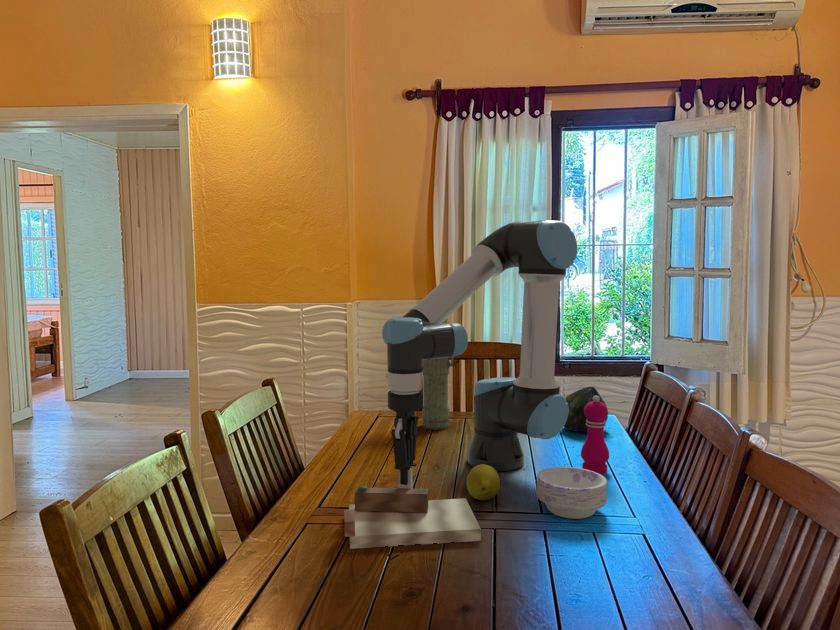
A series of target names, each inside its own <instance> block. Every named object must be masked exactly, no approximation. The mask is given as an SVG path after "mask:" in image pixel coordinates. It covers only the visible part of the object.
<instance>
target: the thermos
mask: <svg viewBox="0 0 840 630" xmlns="http://www.w3.org/2000/svg"><path fill="white" fill-rule="evenodd" d="M444 323H446V320H445V321H444V322H442V323H441V324H444ZM454 357H455V356H453V357H446V358H438V359H431V360H424V361H423V407H422V409H421V419H422V428H424V429H425V430H426V429H427V430H431V429H432V430H433V431H434V430H436V431H439V430H438V429H441V430H445V429H448V428H449V427H450V421H449V420H450V406H449V403H448V402H449V396H448V395H449V394H448V393H449V391H448V390H449V389H448V387H449V385H448V384H449V381H448V380H449V377H448V376H449V374H450V367H453V366H454V360H455V359H454Z"/></svg>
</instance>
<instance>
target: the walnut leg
mask: <svg viewBox="0 0 840 630" xmlns="http://www.w3.org/2000/svg"><path fill="white" fill-rule="evenodd" d="M428 500H429V488H399V487H368V486H367V485H358V486H357V487H356V489H355V491H354V504H355V511H392V512H428Z"/></svg>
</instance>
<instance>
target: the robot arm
mask: <svg viewBox="0 0 840 630" xmlns="http://www.w3.org/2000/svg"><path fill="white" fill-rule="evenodd" d="M577 256H578V242H577V238H576V235H575V233H574V232H573V230H572V229H571V227H570V226H569V225H568V224H566V223H565V222H563V221H561V220H550V219H547V220H545V219H544V220H530V221H513V222H509V223H507V224H505V225H503V226H501V227H499V228H497V229H496V230H494V231H493V232H491V233H490V234H488V235H487V236H486V237H485V238H483V239H482V240H481V241H480V242H478V243H477V245H475V246H474V247H473V249H472V251H471V255H470V256H469V257H467V259H465V261H464V262H462V263H460V265H459V266H458V267H456V269H455V270H453V271H452V272H451V273H450V274H449V275H448V276H447V277H446V278H445V279H443V280H442V281H440V283H439V284H438V285H437V286H435V288H433V289H432V290H431V291H430V292H429V293H428V294H427V295H426V296H424V297H423V298H422V299H421V300H420V301H419V302H417V304H416V305H414V307H412V308H411V309H410V310H409V311H407V313H405V314H404V315H403V316H401V317H400V316H397V317H392V318H389V319H387V321H386V322H385V323H384V325H383V327H382V331H381V336H382V340H383V342H384V344H385V345H386V351H387V352H386V353H387V373H386V375H385V378H386V379H387V389H388V390H389V391H388V392H387V408H388V409H389V410H390V411H393V412H395V413H396V414H395V417H394V418H393V426H394V427H395V428H392V429H391V431H390V434H391V436H392V444H393V455H394V469H395V470H398V488H413V467H417V462H414V461H416V452H417V451H416V449H417V436H418V435H417V434H418V433H417V432H418V423H419V415H416V412H418V411H420V410H422V408H423V406H424V391H422V390H424V379H423V361H424V360H431V359H438V358H446V357H449V358H451V357H453V356H454V357H456V356H460V355H462V354H464V352H465V351H466V349H467V347H468V345H469V343H468V342H469V341H468V339H469V336H468V333H467V330H466V329H465V327H464V325H462V324H461V323H459V322H446V320H447V319H448V318H449V317H450V316H451V315H452V314H453V313H455V312H456V311H457V310H458V309H459V308H460V307H461V306H462V305H463V304H464V303H465V302H466V301H468V299H469V298H470V297H471V296H472V295H474V294H475V293H476V292H477V291H478V290H479V289H481V288H482V286H483V285H484V284H485V283H487V282H488V281H489V280H490V279H492V277H498V276H500V275H501V274H502V273H503V272H504V271H506V270H508V269H511V268H518V276H519V277H520V278H521V279H522V280H523V297H522V299H523V300H522V301H523V302H522V321H521V323H522V324H521V341H520V342H521V344H520V363H519V376H518V377H517V378H516V377H509V376H505V377H502V376H501V377H492V378H491V377H490V378H484V379H479V380H478V381H477V382H476V383H475V385H474V394H473V417H474V418H473V420H474V421H473V425H474V428H473V431H474V432H473V433H474V434H473V437H472V440H471V443H470V446H469V449H468V452H467V464H468V465H469V466H470V467H472V468H474V467H475V466H477V465H481V464H485V465H489V466H491V467H493V468H494V469H495V470H496V472H509V471H514V470H517V469H520V468H521V467H523V466H524V464H525V463H524V462H525V456H524V451H523V448H522V445H521V443H520V439H519V435H518V433H519V434H521V435H522V434H523V435H525V436H529V437H530V438H533V439H540V440H551V439H553V438H555V437H556V436H558V435H559V434H560V433H561V430H563V429H564V425H565V423H566V421H567V418H568V413H569V407H568V403H567V402H566V399H565V398H566V397H564V396H563V395H562V394H560V392H561V390H560V389H561V385H560V383H559V382H558V381H557V379H555V369H556V367H555V366H556V350H557V349H556V348H557V331H558V330H557V327H558V311H559V309H558V308H559V294H560V293H559V292H560V291H559V289H560V287H559V286H560V282H562V280H563V279H564V278H565V277H566V276H567V275H566V274H567V269H568V268H570V267H572V266H573V264H574V262H575V260H576V258H577ZM444 321H445V323H444V324H441V323H442V322H444ZM413 489H414V488H413Z"/></svg>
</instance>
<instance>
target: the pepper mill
mask: <svg viewBox="0 0 840 630" xmlns="http://www.w3.org/2000/svg"><path fill="white" fill-rule="evenodd" d="M599 401H600V398H599V396H594V397H593V401H592V402H589V403H588V404H586V406H585V408H584V414H585V416H586V417H587V419H586V425H587V427H588V431H587V435H586V437H585V440H584V443H583V445H582V446H581V450H580V457H581V459H582V460H583V462H582V466H581V468H582V469H587V470H591V471H594V472H597V473H599V474H601V475H602V476H603V475H605V474H607V472H608V465H607V462H608V461H609V459H610V449H609V447H608V445H607V443H606V440H605V437H604V429H605V427H606V426H607V425H606V424H605V423H607V421H605V420H604V419H605V418H606V417H607V415H608V416H609V410H608V406H607V405H605V404H606V403H605V404H604V403H602V402H599ZM606 406H607V407H606Z"/></svg>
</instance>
